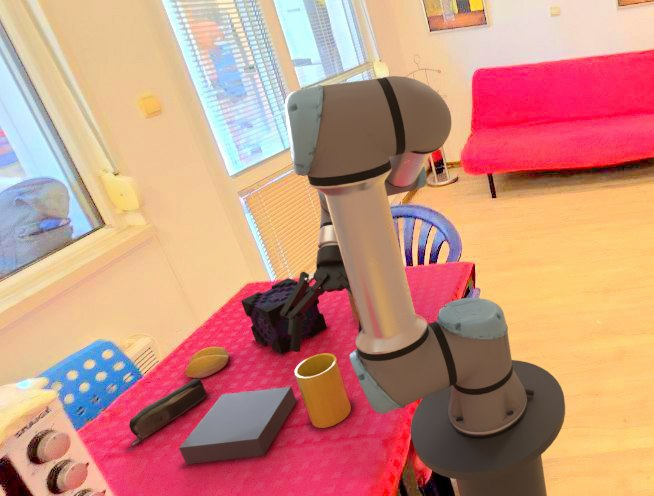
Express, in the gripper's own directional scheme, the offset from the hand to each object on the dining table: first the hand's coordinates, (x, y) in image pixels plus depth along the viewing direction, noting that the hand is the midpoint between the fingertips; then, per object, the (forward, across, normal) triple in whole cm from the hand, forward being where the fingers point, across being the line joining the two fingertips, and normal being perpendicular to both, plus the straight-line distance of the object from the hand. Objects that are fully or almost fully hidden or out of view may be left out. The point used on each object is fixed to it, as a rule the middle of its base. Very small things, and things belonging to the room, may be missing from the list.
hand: (328, 347), depth 106 cm
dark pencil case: (+10, +34, -6) cm, 36 cm away
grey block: (+14, +16, -2) cm, 21 cm away
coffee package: (-13, +2, -30) cm, 33 cm away
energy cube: (-9, +21, -25) cm, 34 cm away
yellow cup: (+13, 0, -3) cm, 13 cm away
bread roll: (-2, +36, -18) cm, 40 cm away
